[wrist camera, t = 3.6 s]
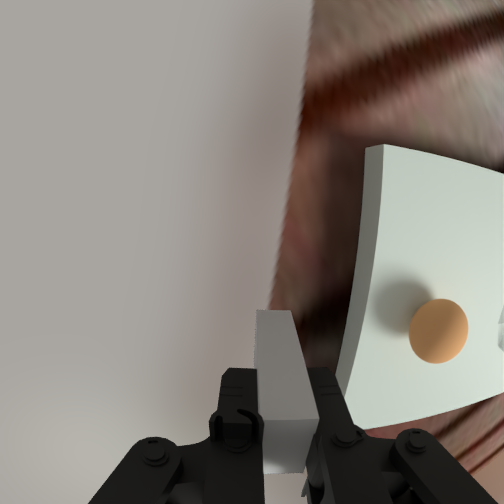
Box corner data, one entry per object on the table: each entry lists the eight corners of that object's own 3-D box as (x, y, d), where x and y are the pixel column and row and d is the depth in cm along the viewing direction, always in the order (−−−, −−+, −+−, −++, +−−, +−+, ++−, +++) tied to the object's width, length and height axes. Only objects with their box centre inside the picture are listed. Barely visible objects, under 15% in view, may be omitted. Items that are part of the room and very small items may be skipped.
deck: (326, 409, 19) (333, 432, 17) (365, 147, 15) (383, 143, 12) (512, 370, 20) (525, 382, 17) (557, 199, 15) (575, 203, 13)
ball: (406, 289, 14) (439, 317, 11) (452, 288, 14) (488, 312, 11) (392, 345, 15) (418, 380, 12) (437, 340, 15) (466, 370, 12)
